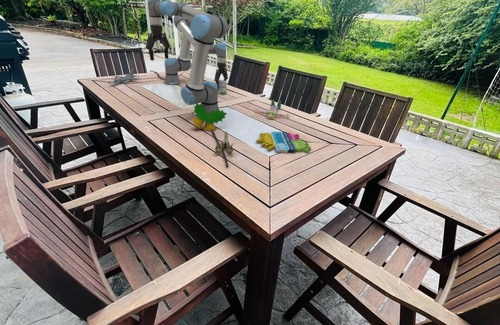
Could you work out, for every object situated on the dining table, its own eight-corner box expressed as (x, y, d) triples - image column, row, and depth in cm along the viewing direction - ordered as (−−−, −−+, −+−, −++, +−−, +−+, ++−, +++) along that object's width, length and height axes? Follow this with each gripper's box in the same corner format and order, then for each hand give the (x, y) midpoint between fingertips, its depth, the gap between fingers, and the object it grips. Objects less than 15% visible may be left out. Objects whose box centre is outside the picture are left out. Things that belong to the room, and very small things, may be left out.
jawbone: (234, 135, 144) (233, 125, 135) (233, 160, 138) (232, 151, 129) (217, 135, 144) (216, 125, 135) (216, 160, 138) (214, 150, 129)
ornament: (218, 133, 171) (224, 110, 169) (221, 134, 163) (227, 111, 161) (186, 125, 162) (192, 101, 160) (189, 126, 155) (195, 101, 153)
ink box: (226, 93, 240) (226, 80, 234) (223, 95, 236) (223, 81, 230) (218, 92, 243) (218, 79, 237) (215, 93, 239) (215, 80, 233)
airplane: (106, 78, 261) (104, 68, 256) (139, 76, 275) (138, 66, 269) (108, 88, 233) (105, 77, 228) (145, 86, 246) (143, 75, 241)
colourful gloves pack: (313, 150, 142) (258, 149, 139) (312, 153, 143) (258, 152, 140) (301, 132, 164) (254, 130, 161) (301, 134, 165) (254, 133, 162)
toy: (294, 101, 206) (290, 112, 180) (293, 110, 209) (289, 122, 183) (259, 97, 210) (251, 107, 185) (259, 106, 214) (250, 116, 188)
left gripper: (217, 64, 215) (217, 91, 226) (232, 61, 234) (231, 86, 245) (209, 63, 218) (210, 89, 229) (225, 60, 237) (224, 84, 247)
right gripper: (165, 24, 182) (168, 57, 192) (136, 24, 162) (141, 60, 172) (173, 25, 179) (176, 58, 189) (145, 25, 159) (149, 61, 169)
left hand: (221, 87), depth 237 cm, fingers open, 11 cm apart
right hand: (159, 59), depth 181 cm, fingers open, 13 cm apart
